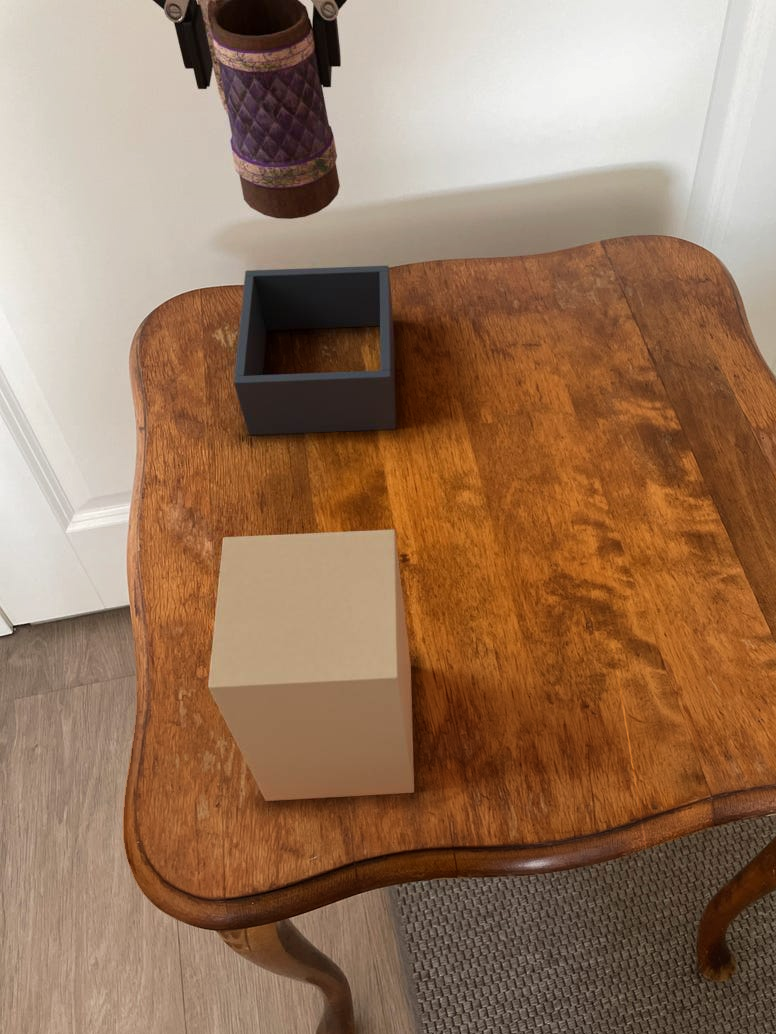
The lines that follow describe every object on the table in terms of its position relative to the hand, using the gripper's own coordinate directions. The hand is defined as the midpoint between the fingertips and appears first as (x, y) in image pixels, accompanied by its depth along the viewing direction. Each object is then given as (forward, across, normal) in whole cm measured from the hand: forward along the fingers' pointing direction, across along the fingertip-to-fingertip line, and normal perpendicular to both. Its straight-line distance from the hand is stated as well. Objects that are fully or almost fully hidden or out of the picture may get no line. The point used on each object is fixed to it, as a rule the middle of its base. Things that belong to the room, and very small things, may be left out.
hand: (265, 75), depth 62 cm
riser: (+27, -3, +35) cm, 44 cm away
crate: (+26, -1, -1) cm, 26 cm away
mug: (+8, 0, 0) cm, 8 cm away
